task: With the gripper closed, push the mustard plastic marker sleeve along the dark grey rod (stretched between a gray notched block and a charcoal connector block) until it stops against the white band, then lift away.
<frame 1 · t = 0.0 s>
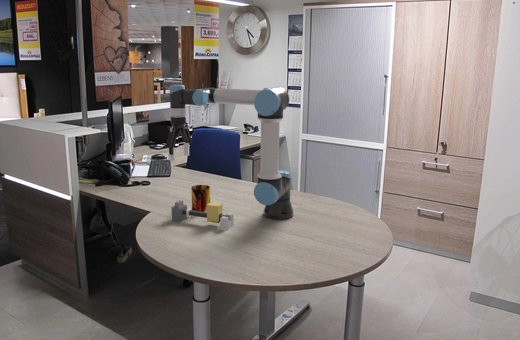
hand: (179, 158, 229), 28 cm above the table, fingers open, 13 cm apart
mug: (202, 210, 237), on the table
connector: (179, 219, 222), on the table
sleeve: (214, 212, 214), point 6 cm above the table, slide at 0.0 cm
gray notched block: (227, 227, 213), on the table
dark grey rod: (202, 223, 218), resting on connector
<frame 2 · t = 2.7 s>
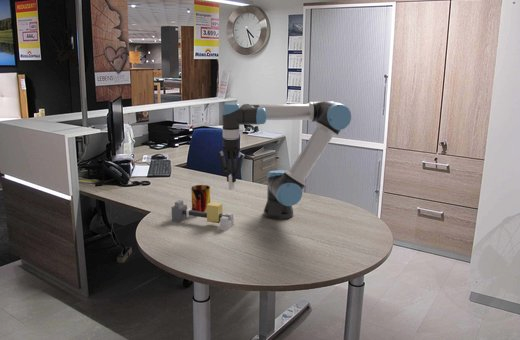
hand: (231, 188, 207), 19 cm above the table, fingers closed
nothing on the table moved.
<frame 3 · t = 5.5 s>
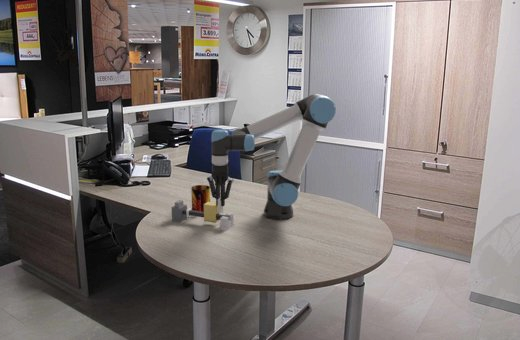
hand: (220, 212, 212), 7 cm above the table, fingers closed
sleeve: (211, 212, 214), point 6 cm above the table, slide at 1.6 cm, touching gripper
everything else where it was.
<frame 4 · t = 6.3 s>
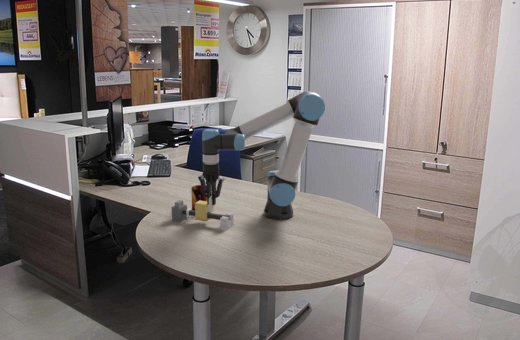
hand: (211, 210, 214), 7 cm above the table, fingers closed
sleeve: (203, 210, 216), point 6 cm above the table, slide at 6.3 cm, touching gripper
everything else where it was.
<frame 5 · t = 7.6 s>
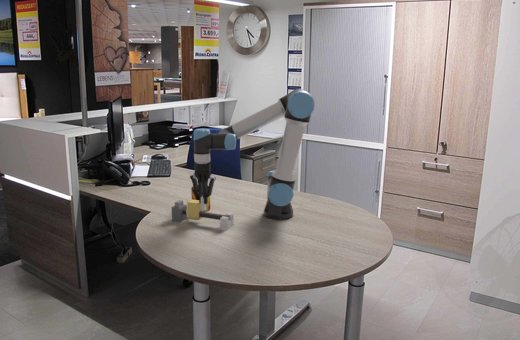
hand: (203, 209, 216), 7 cm above the table, fingers closed
sleeve: (195, 209, 218), point 6 cm above the table, slide at 10.6 cm, touching dark grey rod, gripper
everything else where it was.
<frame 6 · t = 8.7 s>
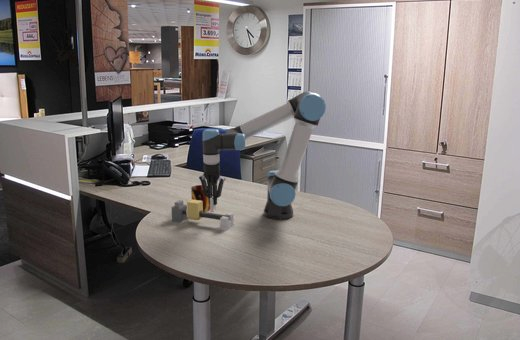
hand: (213, 210, 214), 7 cm above the table, fingers closed
sleeve: (195, 209, 218), point 6 cm above the table, slide at 10.6 cm
everything else where it was.
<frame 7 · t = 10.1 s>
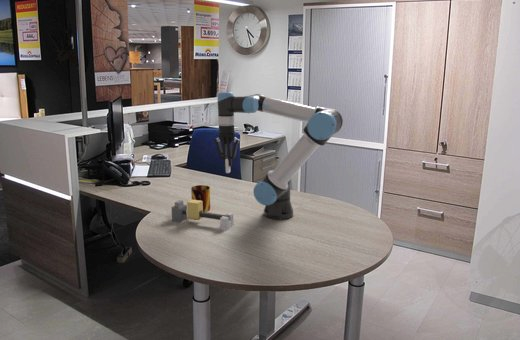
hand: (228, 172, 221), 23 cm above the table, fingers closed
nothing on the table moved.
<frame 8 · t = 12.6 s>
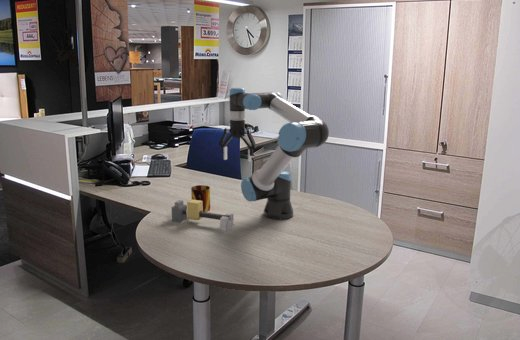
hand: (237, 160, 230), 27 cm above the table, fingers open, 13 cm apart
nothing on the table moved.
at the end: sleeve slide at 10.6 cm; sleeve touching nothing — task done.
